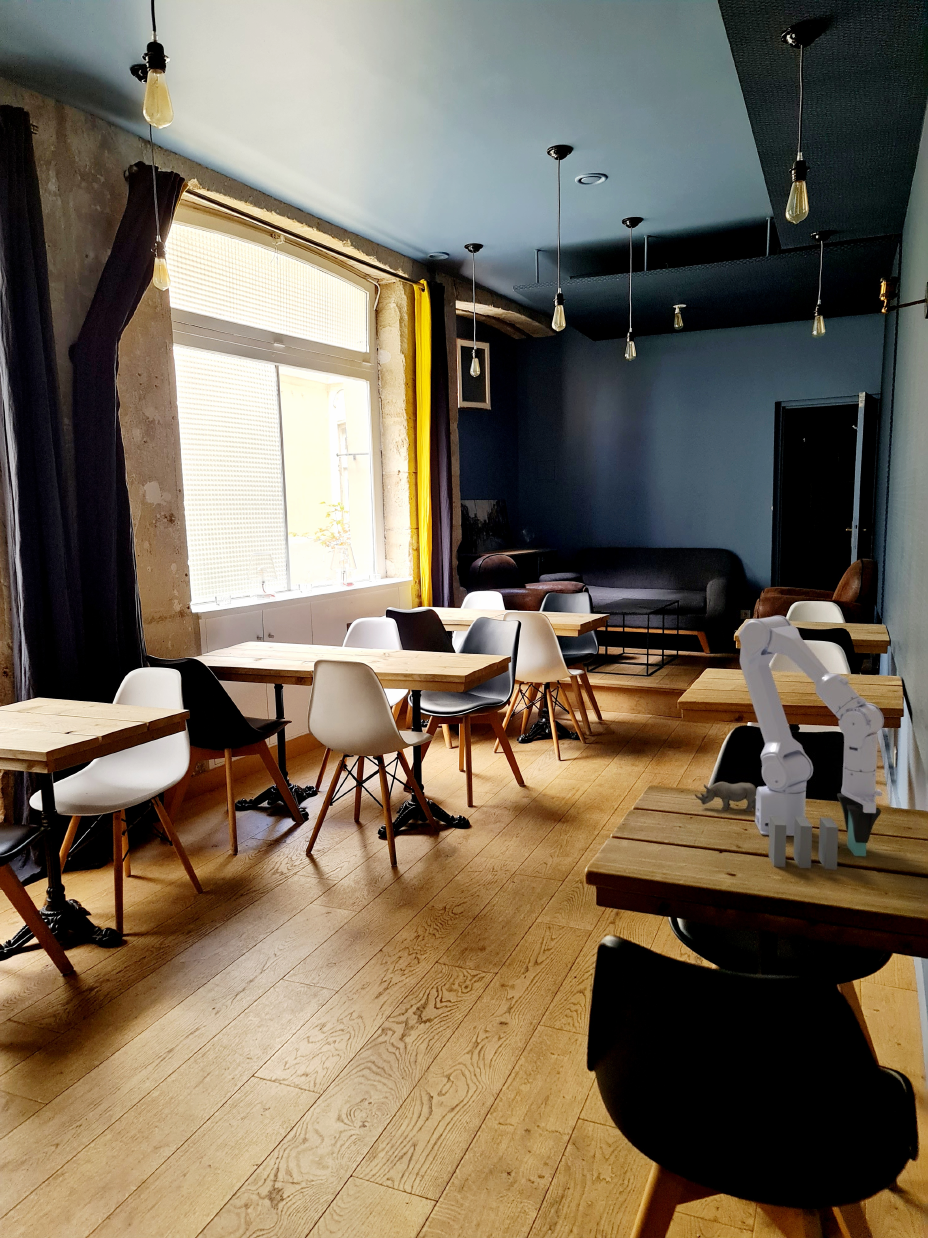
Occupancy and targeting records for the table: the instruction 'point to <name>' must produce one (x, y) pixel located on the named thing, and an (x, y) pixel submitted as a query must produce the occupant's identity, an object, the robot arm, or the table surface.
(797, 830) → the gray domino
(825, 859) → the grey domino block
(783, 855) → the gray domino
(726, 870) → the table surface
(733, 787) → the rhino figurine
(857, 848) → the teal domino
